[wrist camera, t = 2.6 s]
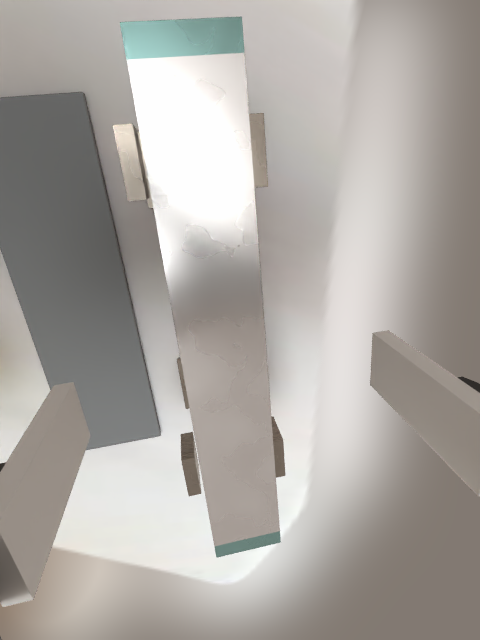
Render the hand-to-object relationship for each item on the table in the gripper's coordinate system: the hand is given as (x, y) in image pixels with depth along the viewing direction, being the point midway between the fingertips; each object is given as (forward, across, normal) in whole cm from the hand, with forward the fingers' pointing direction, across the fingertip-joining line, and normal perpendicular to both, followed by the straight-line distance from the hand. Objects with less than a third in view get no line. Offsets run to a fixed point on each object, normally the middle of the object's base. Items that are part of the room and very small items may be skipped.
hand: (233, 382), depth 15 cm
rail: (+6, 0, 0) cm, 6 cm away
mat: (+15, -10, 0) cm, 18 cm away
